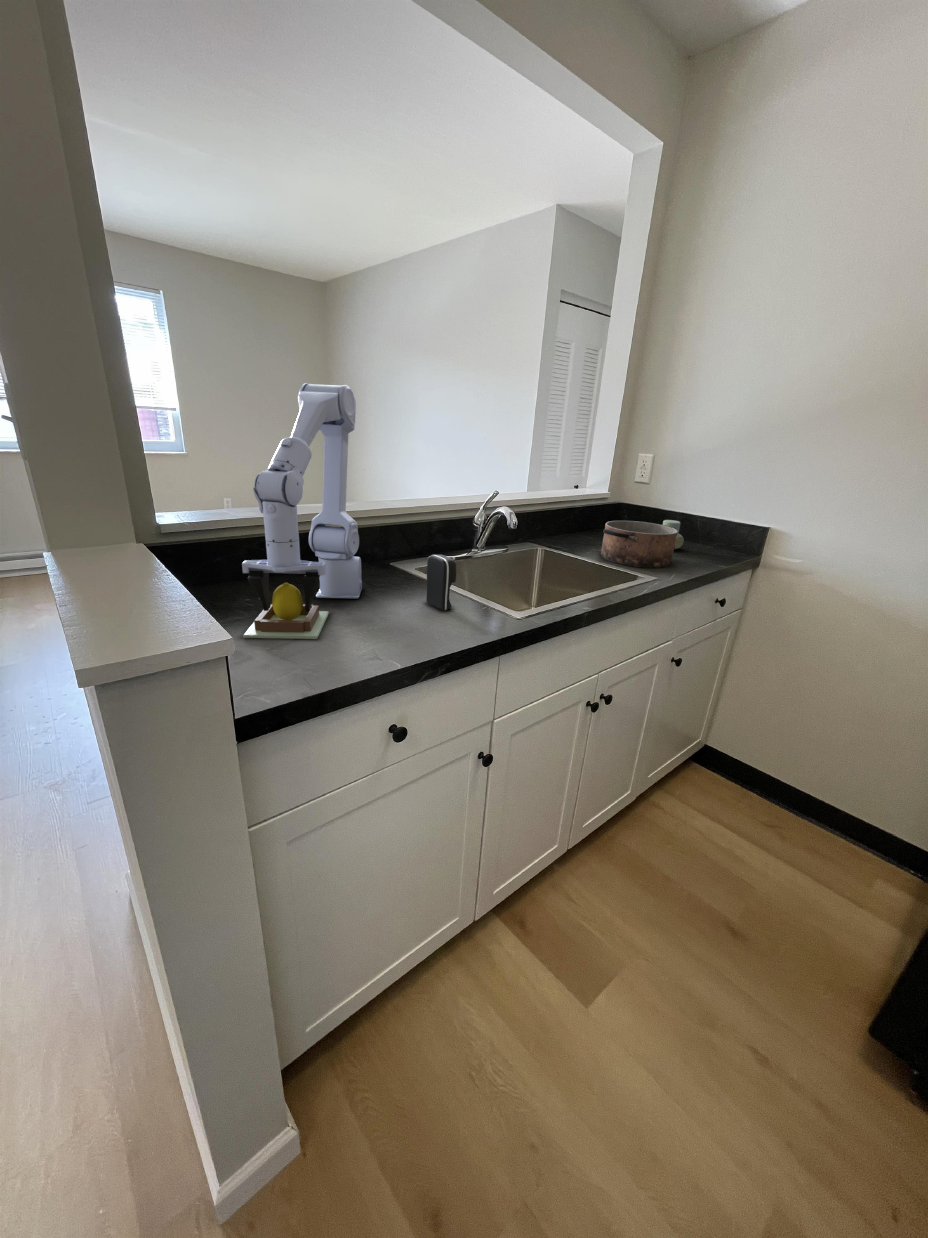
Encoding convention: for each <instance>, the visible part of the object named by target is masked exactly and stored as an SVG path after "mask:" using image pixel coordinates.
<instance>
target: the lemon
mask: <svg viewBox="0 0 928 1238" xmlns="http://www.w3.org/2000/svg"><path fill="white" fill-rule="evenodd" d="M303 604H304V601H303V596H302V593H301V591H300V590H299V589H298V588H297V586H295V585H294V584H290V583H288V582H284V583H282V584H280V585H279V586H277V587H276V588H275V589H274V591H273V593H272V597H271V605H272V607H273V610H274V612H275V614H276V615H277V616H278V617H279V618H280V619H283V620H293V619H295V618H297V617H298V616H299V615H300V613H301V611H302V608H303Z"/></svg>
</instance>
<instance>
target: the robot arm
mask: <svg viewBox="0 0 928 1238" xmlns="http://www.w3.org/2000/svg"><path fill="white" fill-rule="evenodd" d="M356 403H357V402H356V398H355V394H354V392H353V390H352V389H351V387H350V386H349V385H348V384H343V385H338V384H337V385H336V384H315V383H308V382H305V383H303V384H302V385H301V386H300V388H299V390H298V393H297V404H298V408H299V412H298V415H297V418H296V421H295V423H294V426H293V429H292V431H291V435H290V436H287V437H284V438H282V440H281V441H280V443H279V444H278V447H277V449H276V451H275V453H274V455H273V457H272V459H271V461H270V463H269V465H268V467H267V469H264V470H262V471H261V472H259V473H257V475H256V476H255V479H254V482H253V483H254V485H253V488H252V489H253V494H254V497H255V499H256V500H257V502H258V508H259V511H260V513H261V514H262V515H263V516H262V517H263V527H264V537H265V549H266V558H267V559H251V560H249V559H248V560H246V559H245V560H244V561H243V562H242V563H241V567H242V574H248V577H247V581H248V583H249V584H250V585H251V586H252V588H253V590H255V592H256V594H257V596H258V598H259V600H260V603H261V605H262V610H264V611H268V610H269V608H270V605H271V594H270V583H269V582H270V581H269V580H270V574H297V575H300V574H301V575H304V576H303V577H302V585H303V591H304V604H305V611H306V612H309V611H310V610H311V605H312V604H313V597H314V593H315V591H316V587H317V585H318V582H319V589H318V591H317V592H316V594H315V598H317V599H352V600H353V599H354V600H355V599H356V600H357V599H360V596H361V592H362V589H363V581H362V580H363V579H362V559H361V557H360V556H355V554H357V552H358V550H359V547H360V535H359V527H358V522H357V521H356V520H355V519H354V518H353V517H351V516H350V514H348V513H347V489H348V487H347V486H348V485H347V484H348V458H349V457H348V456H349V434H350V433H352V432H353V431H355V427H356V413H357V412H356V411H357V404H356ZM319 431H320V432H321V433H322V435H323V438H324V439H323V468H322V469H323V473H322V505H321V506H322V507H321V508H322V509H321V511H320V512H319V513H318V514H316V515H315V516H314V517H313V518H312V519H311V525H310V530H309V533H308V545H309V547H310V549H311V551H312V552H313V553H314V555H315V557H317V558H318V561H309V560H302V559H301V547H300V535H299V520H298V519H299V518H298V505H299V503H300V502H301V500H302V498H303V491H304V488H303V487H304V483H305V482H304V481H305V479H304V475H305V472H306V470H307V468H308V466H309V463H310V462H311V459H312V455H313V453H312V450H311V448H310V446H311V444H312V442H314V439H315V438H316V437H317V434H318V432H319ZM331 525H333V526H331Z"/></svg>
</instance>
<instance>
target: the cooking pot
mask: <svg viewBox="0 0 928 1238" xmlns="http://www.w3.org/2000/svg"><path fill="white" fill-rule="evenodd" d="M602 532H603V538H602V545H601V550H600V555H601V557H602V558H603V559H605V560H606V561H609V562H612V563H614V564H618V565H622V566H628V567H634V568H641V569H642V568H644V569H660V568H661V569H662V568H665V567H668V566H669V565H671V564H672V561H673V556H674V551H675V550H674V547H675V542H676V537H677V532H678V531H677V530H676V528H675V527H671V526H666V525H663V524H659V523H653V522H647V521H638V520H637V521H635V520H611V521H607V522H606V523H605V525H604V529H603V531H602Z"/></svg>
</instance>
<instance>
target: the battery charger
mask: <svg viewBox="0 0 928 1238" xmlns="http://www.w3.org/2000/svg"><path fill="white" fill-rule="evenodd" d="M456 581H457V563H456V561H455V560H454V559H453V558H451V557H450V556H447V555H444V554H431V555H429V556H428V557H427V562H426V598H425V599H426V600H425V601H426V603H427V604H429V605H430V606H433V607H434V608H436V609H438V610H441V611H447V610H451V609H452V607H453V604H451V601H450V593H451V592H450V589H451V587H452V584H453V583H457V582H456Z"/></svg>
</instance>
